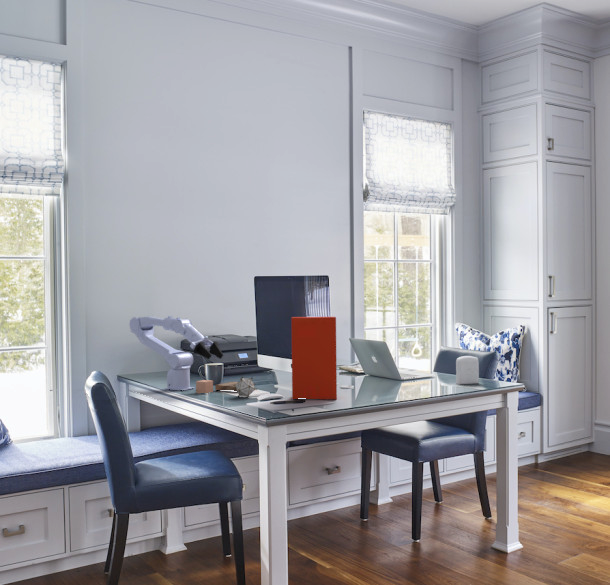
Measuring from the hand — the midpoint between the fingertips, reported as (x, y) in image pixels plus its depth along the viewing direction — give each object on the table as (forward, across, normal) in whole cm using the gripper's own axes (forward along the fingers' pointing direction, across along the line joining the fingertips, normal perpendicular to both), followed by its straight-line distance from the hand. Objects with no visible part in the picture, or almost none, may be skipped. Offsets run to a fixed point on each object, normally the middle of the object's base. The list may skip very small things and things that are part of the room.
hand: (216, 356), depth 303 cm
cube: (+4, -1, +15) cm, 16 cm away
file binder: (+44, +9, -11) cm, 46 cm away
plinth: (+9, +12, +11) cm, 18 cm away
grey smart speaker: (+74, +76, -36) cm, 112 cm away
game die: (+23, -2, +4) cm, 23 cm away
